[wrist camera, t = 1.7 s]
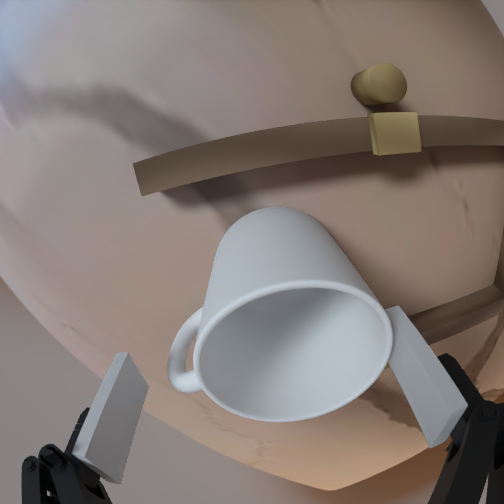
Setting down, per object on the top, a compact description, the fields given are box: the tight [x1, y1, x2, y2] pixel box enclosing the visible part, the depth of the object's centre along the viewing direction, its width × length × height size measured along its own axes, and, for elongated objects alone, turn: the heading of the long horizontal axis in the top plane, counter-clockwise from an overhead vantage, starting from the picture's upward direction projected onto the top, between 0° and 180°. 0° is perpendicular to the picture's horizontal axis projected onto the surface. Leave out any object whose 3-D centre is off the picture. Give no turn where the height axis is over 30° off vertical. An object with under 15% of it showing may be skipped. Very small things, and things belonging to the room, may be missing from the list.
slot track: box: [133, 63, 504, 369], centre depth 17 cm, size 22×32×3 cm
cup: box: [167, 207, 393, 422], centre depth 15 cm, size 8×12×10 cm
